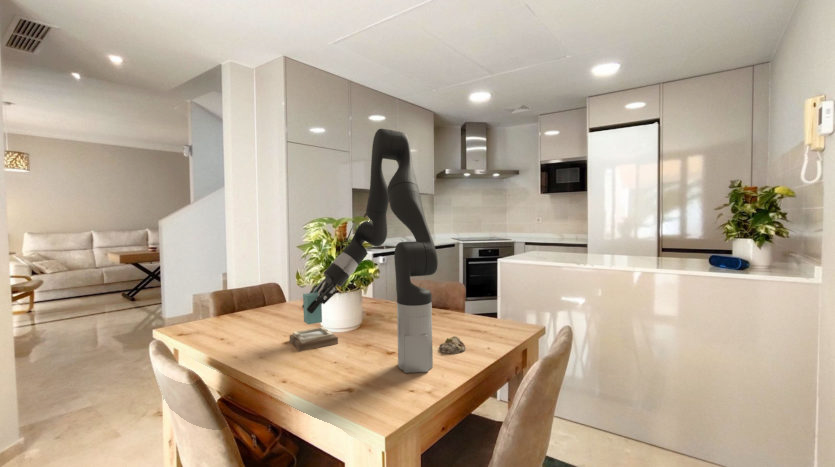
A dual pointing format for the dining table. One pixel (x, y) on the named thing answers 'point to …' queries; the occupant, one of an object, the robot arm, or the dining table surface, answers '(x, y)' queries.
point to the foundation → (313, 338)
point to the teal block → (317, 314)
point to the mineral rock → (452, 345)
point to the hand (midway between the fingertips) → (306, 310)
